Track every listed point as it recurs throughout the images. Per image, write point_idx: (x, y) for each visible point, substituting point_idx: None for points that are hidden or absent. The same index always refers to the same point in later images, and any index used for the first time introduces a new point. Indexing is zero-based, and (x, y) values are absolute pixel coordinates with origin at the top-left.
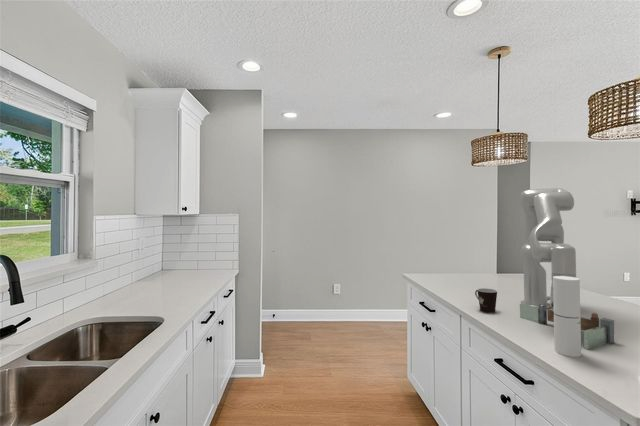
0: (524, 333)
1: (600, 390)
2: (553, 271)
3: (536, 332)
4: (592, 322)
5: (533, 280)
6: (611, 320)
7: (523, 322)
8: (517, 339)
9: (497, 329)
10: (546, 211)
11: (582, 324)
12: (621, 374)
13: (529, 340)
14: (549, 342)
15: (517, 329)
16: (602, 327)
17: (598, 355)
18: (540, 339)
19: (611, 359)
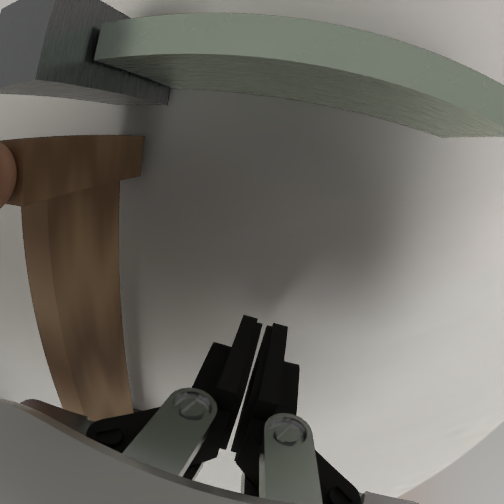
0: (395, 437)
1: None
2: None
3: (332, 419)
4: (61, 176)
5: None
6: (17, 6)
7: (212, 472)
8: (498, 410)
9: (407, 486)
10: None
11: (90, 258)
12: None
13: (490, 384)
14: (472, 322)
15: (351, 466)
16: (181, 17)
17: (487, 55)
18: (449, 368)
19: (482, 2)
